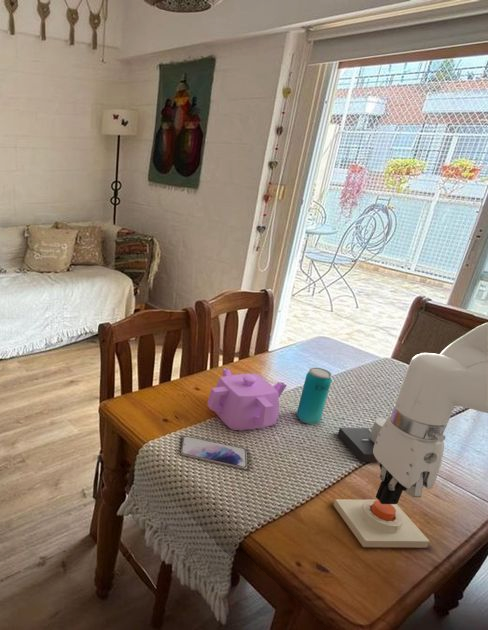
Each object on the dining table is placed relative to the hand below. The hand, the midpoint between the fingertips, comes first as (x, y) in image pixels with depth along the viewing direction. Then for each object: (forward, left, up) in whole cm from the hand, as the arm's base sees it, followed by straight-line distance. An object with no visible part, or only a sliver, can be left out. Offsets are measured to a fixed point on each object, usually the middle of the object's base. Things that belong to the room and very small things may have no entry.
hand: (386, 500), depth 84 cm
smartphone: (+26, -21, -7) cm, 34 cm away
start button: (0, 0, -3) cm, 3 cm away
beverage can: (-4, -35, -7) cm, 36 cm away
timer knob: (-15, -23, -4) cm, 28 cm away
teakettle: (+13, -37, -7) cm, 40 cm away
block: (0, 0, -7) cm, 7 cm away
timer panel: (-15, -23, -7) cm, 28 cm away
